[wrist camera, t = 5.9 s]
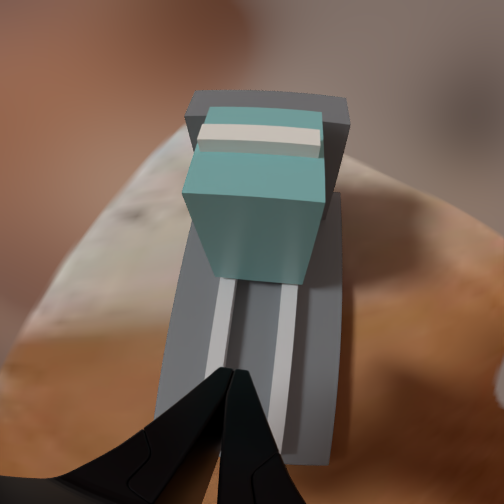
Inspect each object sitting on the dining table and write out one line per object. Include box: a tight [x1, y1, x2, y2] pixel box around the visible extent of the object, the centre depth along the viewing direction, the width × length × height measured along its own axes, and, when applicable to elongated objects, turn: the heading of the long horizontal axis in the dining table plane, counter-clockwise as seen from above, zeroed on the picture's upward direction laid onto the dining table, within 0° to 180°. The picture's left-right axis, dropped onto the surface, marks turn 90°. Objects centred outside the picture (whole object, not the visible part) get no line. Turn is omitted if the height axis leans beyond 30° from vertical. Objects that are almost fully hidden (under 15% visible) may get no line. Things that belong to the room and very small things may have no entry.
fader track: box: [154, 90, 350, 465], centre depth 13 cm, size 16×9×8 cm, turn 173°
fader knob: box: [182, 107, 325, 285], centre depth 13 cm, size 4×4×8 cm
